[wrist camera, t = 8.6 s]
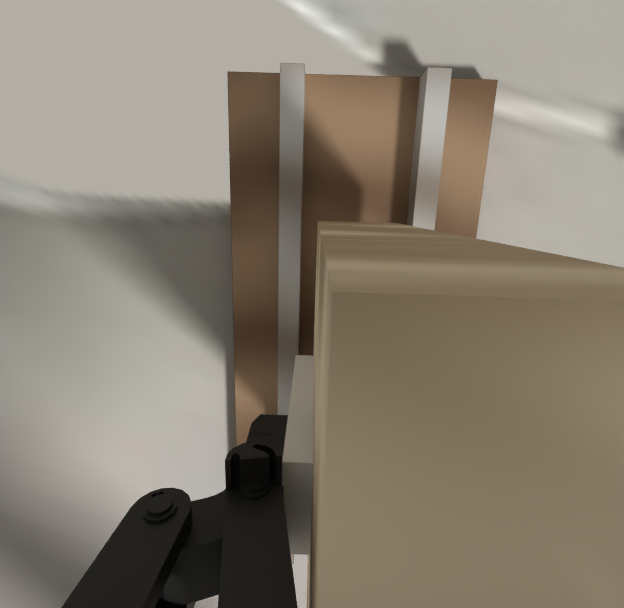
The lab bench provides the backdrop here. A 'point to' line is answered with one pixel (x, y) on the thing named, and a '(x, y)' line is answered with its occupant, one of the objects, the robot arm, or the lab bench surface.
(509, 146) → the lab bench surface
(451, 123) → the track board
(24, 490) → the lab bench surface
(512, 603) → the door panel
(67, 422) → the lab bench surface
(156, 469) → the lab bench surface
